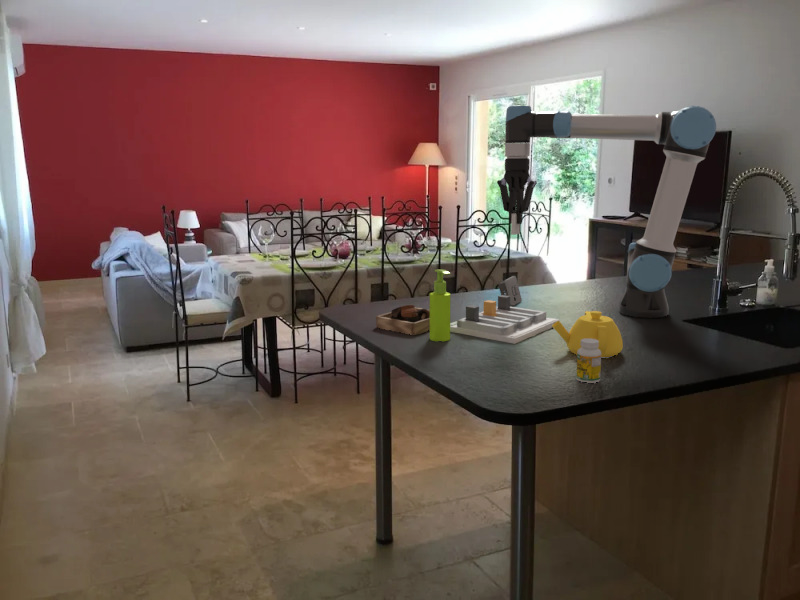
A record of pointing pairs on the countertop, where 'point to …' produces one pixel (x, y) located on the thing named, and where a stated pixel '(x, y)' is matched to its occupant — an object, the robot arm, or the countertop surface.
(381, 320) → the wooden tray
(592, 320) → the teapot
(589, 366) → the supplement bottle
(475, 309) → the block
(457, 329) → the panel
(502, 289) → the electrical switch
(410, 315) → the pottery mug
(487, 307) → the block
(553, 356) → the countertop surface
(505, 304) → the block
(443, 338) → the soap dispenser
